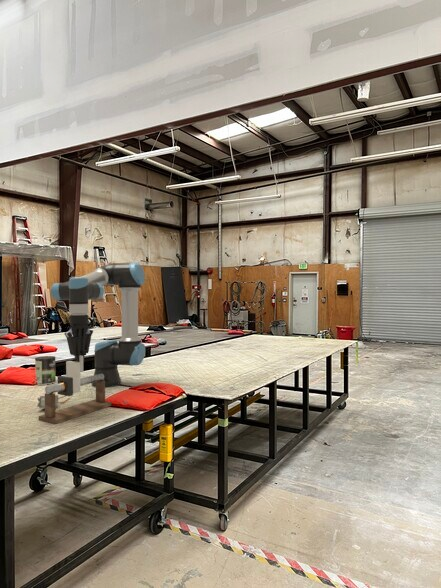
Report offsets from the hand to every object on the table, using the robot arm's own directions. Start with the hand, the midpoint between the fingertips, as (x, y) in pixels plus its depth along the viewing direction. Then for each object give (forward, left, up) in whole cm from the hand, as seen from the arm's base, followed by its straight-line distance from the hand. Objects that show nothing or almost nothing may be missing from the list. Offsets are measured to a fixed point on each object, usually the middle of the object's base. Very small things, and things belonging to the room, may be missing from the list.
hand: (79, 371), depth 166 cm
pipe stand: (+1, 0, -17) cm, 17 cm away
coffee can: (-27, -60, -17) cm, 68 cm away
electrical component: (-3, -19, -17) cm, 26 cm away
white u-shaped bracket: (+4, 0, -8) cm, 9 cm away
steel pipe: (+1, 0, -6) cm, 6 cm away
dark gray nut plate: (+7, 0, -8) cm, 11 cm away
